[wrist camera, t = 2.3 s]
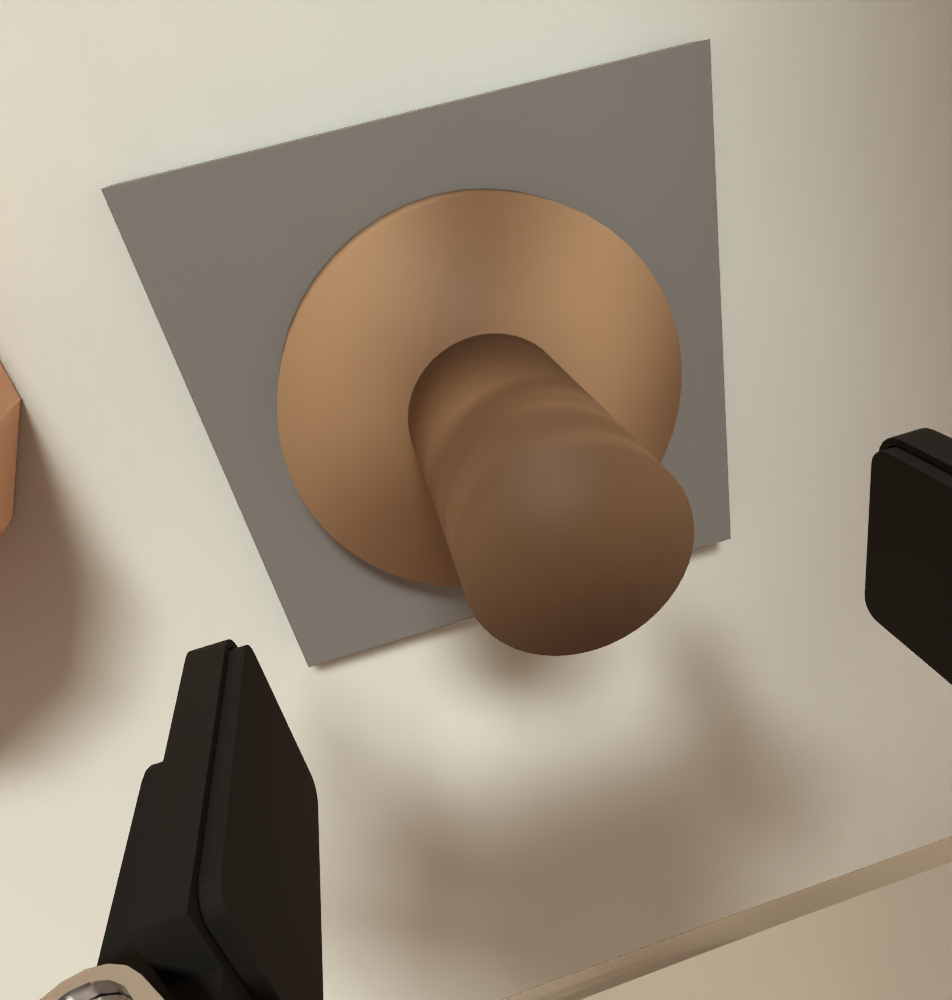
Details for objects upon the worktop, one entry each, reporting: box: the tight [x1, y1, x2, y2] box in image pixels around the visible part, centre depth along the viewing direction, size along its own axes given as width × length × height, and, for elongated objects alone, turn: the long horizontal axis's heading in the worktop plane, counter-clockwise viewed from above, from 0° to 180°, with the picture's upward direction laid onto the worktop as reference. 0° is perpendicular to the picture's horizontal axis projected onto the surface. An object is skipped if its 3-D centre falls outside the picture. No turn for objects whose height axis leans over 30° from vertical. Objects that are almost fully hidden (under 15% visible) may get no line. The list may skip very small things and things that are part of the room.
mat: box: [101, 39, 731, 667], centre depth 17 cm, size 12×12×1 cm
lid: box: [277, 188, 694, 656], centre depth 14 cm, size 9×9×7 cm
